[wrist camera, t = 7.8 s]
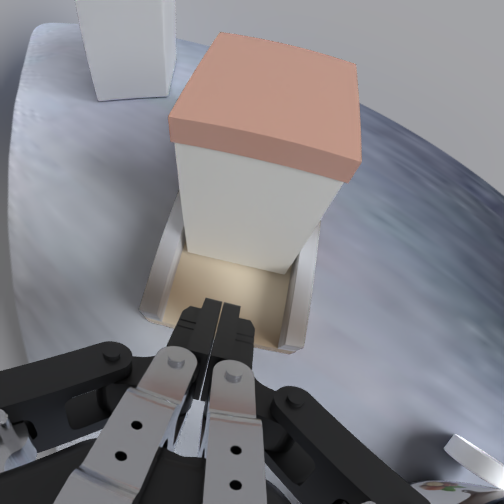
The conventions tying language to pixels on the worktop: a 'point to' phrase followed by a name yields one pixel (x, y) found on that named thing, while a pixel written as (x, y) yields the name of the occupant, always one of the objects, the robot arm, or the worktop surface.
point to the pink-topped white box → (263, 148)
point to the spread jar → (465, 494)
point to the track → (231, 288)
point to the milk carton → (129, 46)
